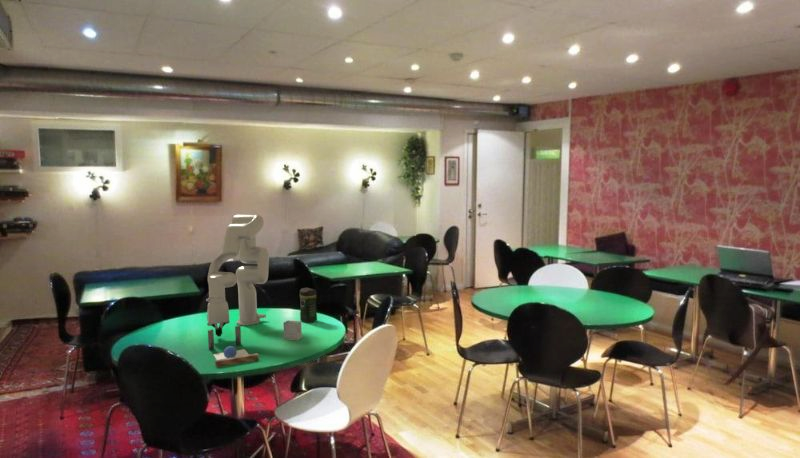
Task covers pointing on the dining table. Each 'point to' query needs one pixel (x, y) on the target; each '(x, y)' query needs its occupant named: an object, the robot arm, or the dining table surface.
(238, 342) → the post
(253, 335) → the dining table surface
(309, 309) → the coffee jar
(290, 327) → the medicine box
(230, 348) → the ball
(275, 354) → the dining table surface
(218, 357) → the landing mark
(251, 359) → the stopper wall
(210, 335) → the post
